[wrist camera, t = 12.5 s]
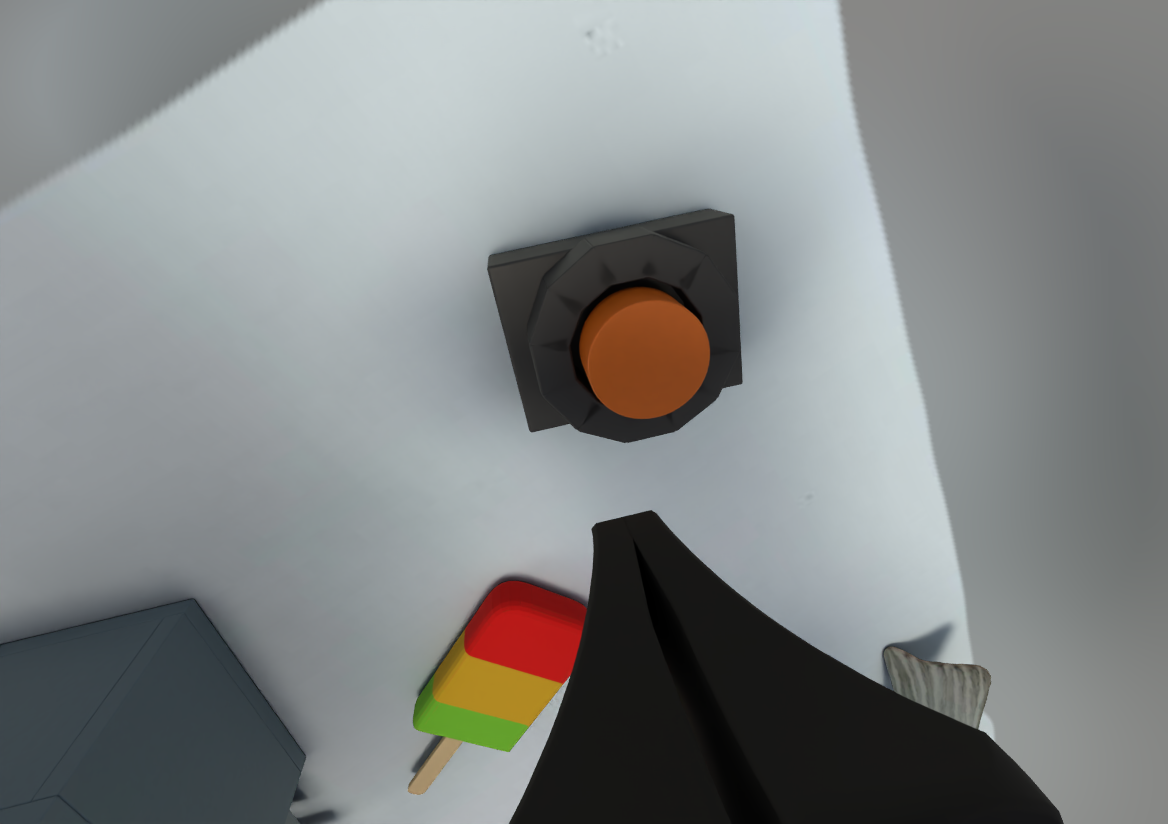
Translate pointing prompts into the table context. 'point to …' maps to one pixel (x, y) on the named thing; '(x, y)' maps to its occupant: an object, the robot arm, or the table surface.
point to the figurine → (940, 685)
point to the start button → (643, 352)
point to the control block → (590, 274)
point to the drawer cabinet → (139, 727)
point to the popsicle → (498, 673)
